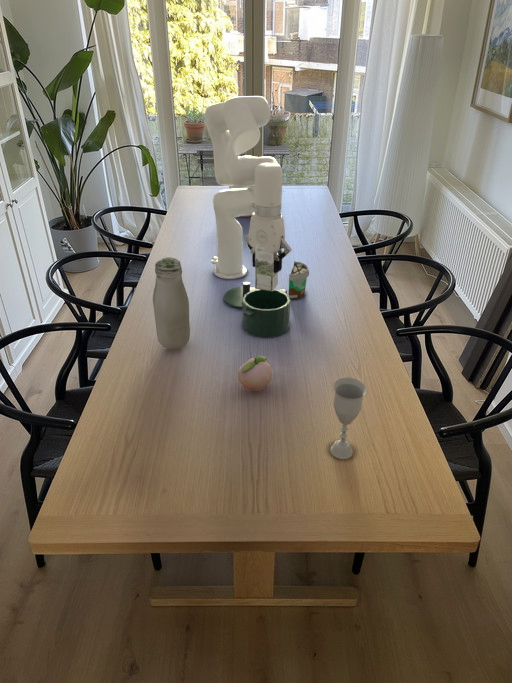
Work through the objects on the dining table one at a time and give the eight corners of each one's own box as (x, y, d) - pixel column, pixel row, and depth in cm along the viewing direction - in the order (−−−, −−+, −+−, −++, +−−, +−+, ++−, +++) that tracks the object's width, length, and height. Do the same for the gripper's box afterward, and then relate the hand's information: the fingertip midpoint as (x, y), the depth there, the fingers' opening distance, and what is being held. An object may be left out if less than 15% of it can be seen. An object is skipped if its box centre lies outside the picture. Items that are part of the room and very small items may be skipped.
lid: (214, 301, 178) (213, 285, 175) (241, 285, 189) (241, 269, 186) (251, 314, 171) (251, 298, 167) (277, 297, 181) (278, 281, 178)
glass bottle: (164, 358, 148) (155, 269, 133) (153, 342, 156) (143, 255, 141) (196, 350, 152) (191, 262, 137) (184, 334, 160) (177, 249, 145)
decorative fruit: (259, 404, 131) (260, 372, 126) (233, 393, 135) (232, 362, 129) (278, 385, 138) (279, 354, 132) (252, 375, 141) (252, 345, 136)
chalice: (323, 440, 120) (330, 378, 110) (352, 439, 121) (361, 376, 111) (330, 463, 114) (337, 399, 104) (360, 461, 114) (370, 398, 105)
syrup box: (278, 284, 159) (279, 239, 151) (272, 292, 154) (273, 246, 146) (260, 281, 160) (261, 237, 153) (254, 289, 156) (254, 244, 148)
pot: (228, 331, 161) (227, 304, 156) (265, 307, 175) (265, 281, 170) (266, 346, 154) (267, 319, 149) (301, 319, 168) (303, 293, 163)
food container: (305, 303, 178) (307, 276, 172) (287, 301, 179) (289, 274, 173) (309, 287, 188) (311, 262, 183) (292, 286, 189) (294, 260, 184)
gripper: (235, 207, 146) (236, 265, 156) (286, 219, 138) (284, 280, 147) (250, 201, 151) (250, 257, 161) (301, 212, 143) (298, 271, 152)
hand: (266, 268), depth 154 cm, fingers closed on syrup box, 6 cm apart
